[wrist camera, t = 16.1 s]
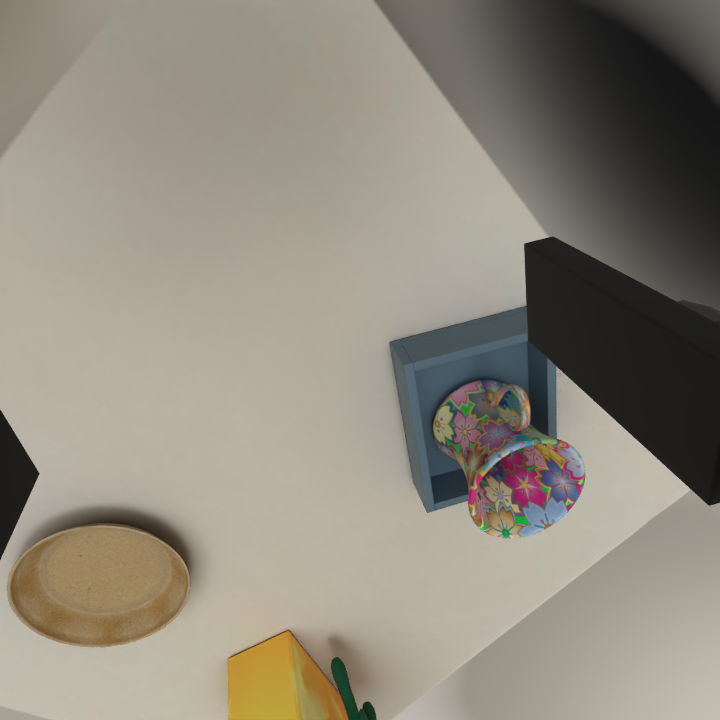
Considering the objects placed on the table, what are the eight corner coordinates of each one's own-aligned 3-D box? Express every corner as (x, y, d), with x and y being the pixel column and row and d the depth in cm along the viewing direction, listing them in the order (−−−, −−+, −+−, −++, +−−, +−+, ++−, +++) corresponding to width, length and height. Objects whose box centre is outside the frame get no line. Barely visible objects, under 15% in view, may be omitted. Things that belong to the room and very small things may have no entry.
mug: (517, 448, 54) (578, 526, 45) (425, 465, 53) (467, 549, 43) (528, 335, 48) (599, 398, 39) (424, 351, 47) (473, 420, 38)
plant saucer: (160, 634, 56) (158, 657, 54) (-3, 610, 51) (-13, 636, 49) (215, 525, 52) (215, 546, 49) (42, 487, 46) (32, 508, 44)
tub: (530, 304, 48) (556, 324, 44) (534, 447, 56) (557, 474, 52) (389, 341, 47) (403, 365, 43) (413, 482, 54) (427, 513, 51)
